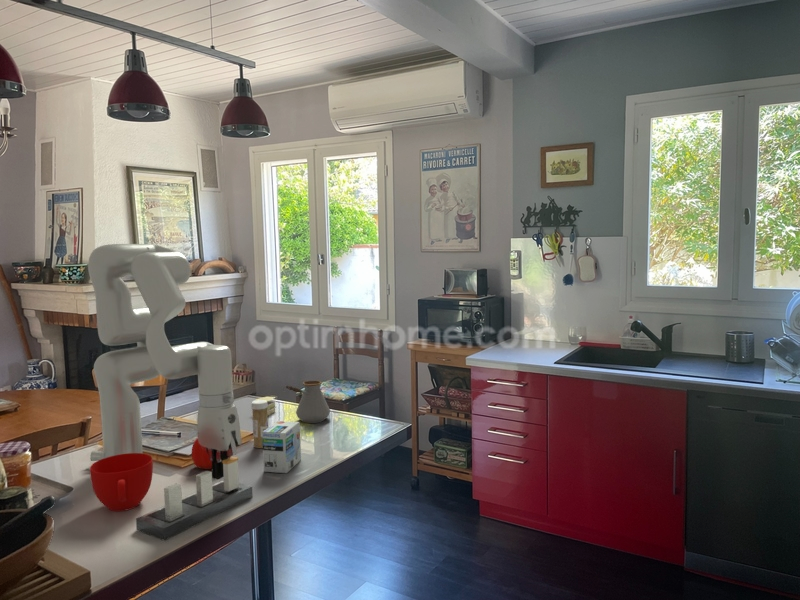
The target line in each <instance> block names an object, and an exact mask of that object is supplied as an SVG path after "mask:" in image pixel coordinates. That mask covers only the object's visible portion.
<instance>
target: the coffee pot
mask: <svg viewBox="0 0 800 600" xmlns="http://www.w3.org/2000/svg"><path fill="white" fill-rule="evenodd" d="M322 383H323V381H321V380H305V381H303V382H302V385H303V388H304V390H302V389H299V388H298V387H293V386H292V385H287V386H284V387H283V389H282V390H283V392H284V393H286V391H285V388H286V389H288V390H287V393H289V391H292V392H296V393H300V394H301V393H302V395H301V398H300V401H299V402H298V406H297V408H296V410H295V415H296V417H297V418H298V419H299V420H301V421H302V423H306V424H315V423H316V424H317V423H321V422H324V421H325V419H327V418H328V417H329V415H330V414H331V413H330V412H331V409H330V407H329V404H328V403H327V400H326V398H325V396H324V393H323V392H322V390H321V385H322Z"/></svg>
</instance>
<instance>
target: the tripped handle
mask: <svg viewBox="0 0 800 600" xmlns="http://www.w3.org/2000/svg"><path fill="white" fill-rule="evenodd" d="M222 463H223V472H224V477H223V480H224V490H225V491H231V490H233V489H236V488H238V487H239V483H240V482H239V457H237V456H231V457H230V458H228V459H225V460H223V461H222Z"/></svg>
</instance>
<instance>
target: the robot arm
mask: <svg viewBox="0 0 800 600" xmlns="http://www.w3.org/2000/svg"><path fill="white" fill-rule="evenodd" d="M87 263H88V264H87V265H88V266H87V269H88V270H87V271H88V275H89V278H90V281H91V284H92V287H93V290H94V296H95V310H96V311H95V312H96V323H97V324H96V325H97V334H98V338H99V341H100V342H101V343H102V344H103V345H104V346H105V345H106V346H110V347H111V346H121V345H128V344H135V343H136V344H137V346H136V347H131V348H124V349H123V348H122V349H116V350H111V351H108V352H105V353H102V354H101V355H99V356H98V357H97V358H96V360H95V361H94V364H93V373H94V377H95V381H96V385H97V388H98V396H99V403H100V406H99V407H100V419H101V432H102V434H101V435H102V436H101V437H102V449H103V450H102V451H98V450H97V451H96V450H95V451H91V453H90V458H89V459H90V462H97V461H99V460H101V459H104V458H107V457H110V456H115V455H120V454H127V453H143V454H144V452H143V451H144V450H143V437H142V435H143V433H142V419H141V418H142V417H141V416H142V415H141V403H140V399H139V396H138V394H137V393H136V392H135V391H134V389H133V388H132V387H131V385H134V384H138V383H141V382H146V381H151V380H153V379H156V378H158V377H160V376H161V377H163V378H164V379H166V380H178V379H182V378H187V377H190V376H195V375H196V376H197V382H198V384H197V385H198V400H199V401H198V402H199V405H198V409H197V410H198V411H197V418H196V419H197V422H196V423H197V425H196V426H197V428H196V429H197V433H196V435H197V438H198V442H199V444H200V445H201V448H202V449H203V450H205V451H207V453H208V454H209V459H210V461H212V469H211V472H212V479H215V480H221V479H222V478H223V479H224V472H223V463H222V461H223V460H225V459H228V458H229V456H231V457H234V456H235V455H237V454H238V451H237V447H240V446H241V445H242V433H241V425H240V417H239V413H238V409H237V405H236V404H234V402H235V397H234V386H233V385H234V382H233V365H232V364H233V363H232V362H233V361H232V351H231V349H230V347H229V346H227V345H223V344H221V345H220V344H213V343H210V342H209V341H197V342H196V341H195V342H190V343H184V344H178V345H171V344H170V341H169V340H168V337H167V335H166V331H165V323H167V322H169V321H170V320H172V319H174V318H175V317H177V316H178V315H179V314H180V313H182V312H183V311H184V309H185V307H186V300H185V297H184V295H183V293H182V291H181V290H180V288H179V286H178V285H182V284H185V283H186V282H188V281H189V279H190V277H191V273H192V270H191V269H192V268H191V265H190V262H189V260H188V258H187V257H185V255H184V254H182V253H181V252H179V251H177V250H174V249H171V248H167V247H164V246H161V245H159V244H152V243H109V244H104V245H100V246H98V247H96V248H94V249H93V250H92V252H91V253H90V255H89V257H88V262H87ZM125 277H126V278H128V277H130V278H131V277H132V278H133V280H134V282H135V284H136V287H137V289H138V291H139V293H140V295H141V296H142V299H143V301H144V303H145V305H146V306H139V307H133V305H132V304H133V303H132V293H131V290H130V288H129V286H128V285H127V284H126V282H125V281H124V279H122V278H125ZM222 452H223V453H222Z"/></svg>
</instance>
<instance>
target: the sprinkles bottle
mask: <svg viewBox="0 0 800 600" xmlns="http://www.w3.org/2000/svg"><path fill="white" fill-rule="evenodd" d="M267 407H268V403H267V401H266V400H256V401H254V400H253V401H252V402H251V411H252V412H251V413H252V436H253V447H254V448H256V449H263V440H262V432H263V431H265V430H266V429H267V428H269V419H268V416H267Z"/></svg>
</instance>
